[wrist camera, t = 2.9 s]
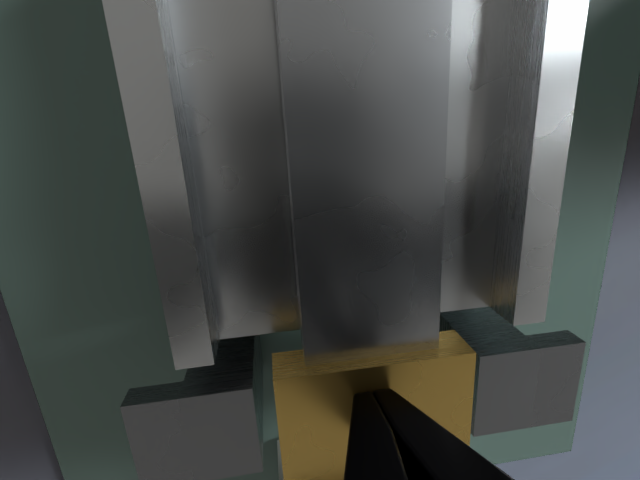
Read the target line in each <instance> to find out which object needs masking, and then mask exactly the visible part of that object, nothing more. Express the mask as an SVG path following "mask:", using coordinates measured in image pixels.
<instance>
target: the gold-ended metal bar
mask: <svg viewBox="0 0 640 480" xmlns="http://www.w3.org/2000/svg"><path fill="white" fill-rule="evenodd" d="M274 9H275V22H276V34H277V47H278V59H279V71H280V84H281V96H282V109H283V121H284V134H285V146H286V158H287V171H288V183H289V196H290V208H291V221H292V233H293V245H294V258H295V270H296V283H297V295H298V308H299V320H300V332H301V345H302V349H301V350H293V351H285V352H277V353H272V370H273V387H274V396H275V405H276V414H277V423H278V432H279V442H280V451H281V460H282V469H283V478H284V480H343V479H344V471H345V462H346V454H347V445H348V437H349V428H350V420H351V411H352V403H353V396H354V394H356V393H362V392H372V393H373V392H374V391H376V390H382V389H392V390H394V391H395V392H397V393H398V394H399V395H401V396H402V397H403V398H405V399H406V400H407V401H409V402H410V403H411V404H413V405H414V406H415V407H417V408H418V409H420V410H421V411H422V412H424V413H425V414H426V415H428V416H429V417H430V418H432V419H433V420H434V421H436V422H437V423H438V424H440V425H441V426H443V427H444V428H445V429H447V430H448V431H449V432H451V433H452V434H453V435H455V436H456V437H457V438H459V439H460V440H461V441H463V442H464V443H466V444H467V445H468V446H470V434H471V420H472V406H473V392H474V379H475V365H476V352H475V351H474V350H473V349H472V348H471V347H470V346H469V345H468V344H467V343H466V341H465V340H464V339H463V338H462V337H461V336H460V335H459V334H458V333H457V332H456V331H455V330H448V331H440V332H439V325H440V300H441V275H442V249H443V224H444V199H445V173H446V148H447V122H448V97H449V72H450V46H451V21H452V0H274Z"/></svg>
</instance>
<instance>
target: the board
mask: <svg viewBox="0 0 640 480" xmlns="http://www.w3.org/2000/svg"><path fill="white" fill-rule="evenodd" d="M639 75H640V0H589V5H588V12H587V20H586V27H585V34H584V41H583V49H582V56H581V63H580V70H579V78H578V85H577V92H576V99H575V107H574V114H573V121H572V128H571V136H570V143H569V150H568V157H567V165H566V172H565V179H564V186H563V194H562V201H561V208H560V215H559V223H558V230H557V237H556V244H555V252H554V259H553V266H552V273H551V281H550V288H549V295H548V302H547V310H546V317H545V322H540V323H532V324H525V325H517V326H514V327H516V328H517V329H518V330H519V331H521V332H522V333H523V334H524V335H533V334H541V333H548V332H556V331H563V330H569V331H570V332H572V333H573V334H575V335H576V336H578V337H579V338H581V339H582V340H584V341H585V342H586V346H585V352H584V357H583V363H582V369H581V374H580V380H579V385H578V391H577V397H576V402H575V408H574V414H573V419H572V421H567V422H561V423H555V424H549V425H543V426H537V427H531V428H525V429H519V430H513V431H507V432H501V433H495V434H489V435H483V436H477V437H473V436H472V434H470V447H471V448H472V449H474V450H475V451H476V452H478V453H479V454H480V455H482V456H483V457H484V458H486V459H487V460H489V461H490V462H491V463H493V464H499V463H505V462H511V461H516V460H522V459H528V458H533V457H539V456H545V455H551V454H556V453H562V452H568V451H571V448H572V443H573V437H574V432H575V426H576V421H577V416H578V410H579V405H580V399H581V394H582V388H583V383H584V377H585V372H586V366H587V361H588V355H589V350H590V344H591V339H592V333H593V328H594V322H595V317H596V311H597V306H598V300H599V295H600V289H601V284H602V278H603V273H604V267H605V262H606V256H607V251H608V245H609V240H610V234H611V229H612V223H613V218H614V212H615V207H616V201H617V196H618V191H619V185H620V180H621V174H622V169H623V163H624V158H625V152H626V147H627V141H628V136H629V130H630V125H631V119H632V114H633V108H634V103H635V97H636V92H637V86H638V81H639ZM0 291H1V294H2V297H3V300H4V303H5V305H6V308H7V311H8V314H9V317H10V320H11V323H12V326H13V329H14V332H15V335H16V338H17V341H18V344H19V347H20V350H21V353H22V356H23V359H24V362H25V365H26V368H27V371H28V374H29V377H30V380H31V383H32V386H33V389H34V392H35V395H36V398H37V401H38V404H39V407H40V410H41V412H42V415H43V418H44V421H45V424H46V427H47V430H48V433H49V436H50V439H51V442H52V445H53V448H54V451H55V454H56V457H57V460H58V463H59V466H60V469H61V472H62V475H63V478H64V480H139V479H138V475H137V471H136V467H135V464H134V460H133V456H132V452H131V448H130V444H129V440H128V437H127V433H126V429H125V425H124V421H123V417H122V413H121V410H120V406H121V404H122V402H123V400H124V398H125V396H126V394H127V392H128V390H129V389H130V388H137V387H145V386H152V385H160V384H167V383H175V382H182V381H184V378H185V375H186V371H187V369H179V370H175V366H174V360H173V355H172V350H171V345H170V340H169V335H168V330H167V325H166V320H165V315H164V310H163V305H162V300H161V295H160V290H159V285H158V280H157V275H156V270H155V265H154V260H153V255H152V250H151V245H150V240H149V235H148V230H147V225H146V220H145V215H144V210H143V205H142V200H141V195H140V190H139V184H138V179H137V174H136V169H135V164H134V159H133V154H132V149H131V144H130V139H129V134H128V129H127V124H126V119H125V114H124V109H123V104H122V99H121V94H120V89H119V84H118V79H117V74H116V69H115V64H114V59H113V54H112V49H111V44H110V39H109V34H108V29H107V24H106V19H105V14H104V9H103V3H102V0H0ZM260 343H261V352H262V360H263V472H259V473H253V474H247V475H241V476H235V477H228V478H222V479H216V480H279V474H278V450H277V440H279V432H278V423H277V414H276V405H275V396H274V387H273V370H272V353H277V352H285V351H293V350H301V349H302V345H301V332H300V330H293V331H285V332H276V333H268V334H260Z"/></svg>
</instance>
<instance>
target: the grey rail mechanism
mask: <svg viewBox="0 0 640 480" xmlns="http://www.w3.org/2000/svg"><path fill="white" fill-rule="evenodd" d="M102 3H103V9H104V14H105V19H106V24H107V29H108V34H109V39H110V44H111V49H112V54H113V59H114V64H115V69H116V74H117V79H118V84H119V89H120V94H121V99H122V104H123V109H124V114H125V119H126V124H127V129H128V134H129V139H130V144H131V149H132V154H133V159H134V164H135V169H136V174H137V179H138V184H139V190H140V195H141V200H142V205H143V210H144V215H145V220H146V225H147V230H148V235H149V240H150V245H151V250H152V255H153V260H154V265H155V270H156V275H157V280H158V285H159V290H160V295H161V300H162V305H163V310H164V315H165V320H166V325H167V330H168V335H169V340H170V345H171V350H172V355H173V360H174V366H175V370H179V369H187V371H186V375H185V378H184V381H182V382H175V383H167V384H160V385H152V386H145V387H137V388H130V389H129V390H128V392H127V394H126V396H125V398H124V400H123V402H122V404H121V406H120V410H121V413H122V417H123V421H124V425H125V429H126V433H127V437H128V440H129V444H130V448H131V452H132V456H133V460H134V464H135V467H136V471H137V475H138V479H139V480H216V479H222V478H228V477H235V476H241V475H247V474H253V473H259V472H263V360H262V352H261V343H260V334H268V333H276V332H285V331H293V330H300V320H299V308H298V295H297V283H296V270H295V258H294V245H293V233H292V221H291V208H290V196H289V183H288V171H287V158H286V146H285V134H284V121H283V109H282V96H281V84H280V71H279V59H278V47H277V34H276V22H275V9H274V0H102ZM588 5H589V0H452V21H451V46H450V72H449V97H448V122H447V148H446V173H445V199H444V224H443V249H442V275H441V300H440V325H439V332H440V331H448V330H455V331H456V332H457V333H458V334H459V335H460V336H461V337H462V338H463V339H464V340H465V341H466V343H467V344H468V345H469V346H470V347H471V348H472V349H473V350H474V351H475V352H476V365H475V379H474V392H473V406H472V420H471V434H472V436H473V437H477V436H483V435H489V434H495V433H501V432H507V431H513V430H519V429H525V428H531V427H537V426H543V425H549V424H555V423H561V422H567V421H572V419H573V414H574V408H575V402H576V397H577V391H578V385H579V380H580V374H581V369H582V363H583V357H584V352H585V346H586V342H585V341H584V340H582V339H581V338H579V337H578V336H576V335H575V334H573V333H572V332H570V331H569V330H563V331H556V332H548V333H541V334H533V335H524V334H523V333H522V332H521V331H519V330H518V329H517V328H516V327H514V326H517V325H525V324H532V323H540V322H545V317H546V310H547V302H548V295H549V288H550V281H551V273H552V266H553V259H554V252H555V244H556V237H557V230H558V223H559V215H560V208H561V201H562V194H563V186H564V179H565V172H566V165H567V157H568V150H569V143H570V136H571V128H572V121H573V114H574V107H575V99H576V92H577V85H578V78H579V70H580V63H581V56H582V49H583V41H584V34H585V27H586V20H587V12H588Z"/></svg>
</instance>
